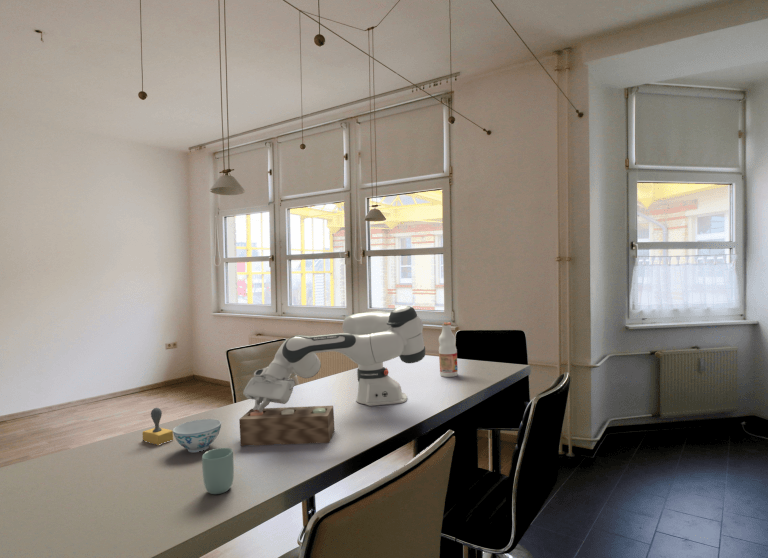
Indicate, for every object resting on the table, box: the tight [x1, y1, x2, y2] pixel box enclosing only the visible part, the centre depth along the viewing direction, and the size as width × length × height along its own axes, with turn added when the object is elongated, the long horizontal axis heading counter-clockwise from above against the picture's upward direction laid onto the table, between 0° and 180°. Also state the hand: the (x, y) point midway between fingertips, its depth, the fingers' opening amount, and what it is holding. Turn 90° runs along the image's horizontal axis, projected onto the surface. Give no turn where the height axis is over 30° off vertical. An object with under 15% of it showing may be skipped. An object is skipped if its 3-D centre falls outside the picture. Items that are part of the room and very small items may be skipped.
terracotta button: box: [250, 411, 263, 416], centre depth 158 cm, size 4×4×3 cm
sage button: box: [313, 408, 326, 413], centre depth 157 cm, size 4×4×3 cm
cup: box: [201, 447, 235, 495], centre depth 120 cm, size 8×8×10 cm
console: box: [239, 405, 335, 447], centre depth 158 cm, size 30×12×9 cm, turn 87°
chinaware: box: [172, 418, 222, 453], centre depth 152 cm, size 15×15×8 cm
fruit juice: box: [438, 321, 459, 378], centre depth 241 cm, size 9×9×28 cm
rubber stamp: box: [142, 407, 174, 446], centre depth 162 cm, size 10×6×12 cm, turn 57°
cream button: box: [281, 409, 294, 415], centre depth 158 cm, size 4×4×3 cm
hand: (256, 411), depth 158 cm, fingers closed, pressing on terracotta button
